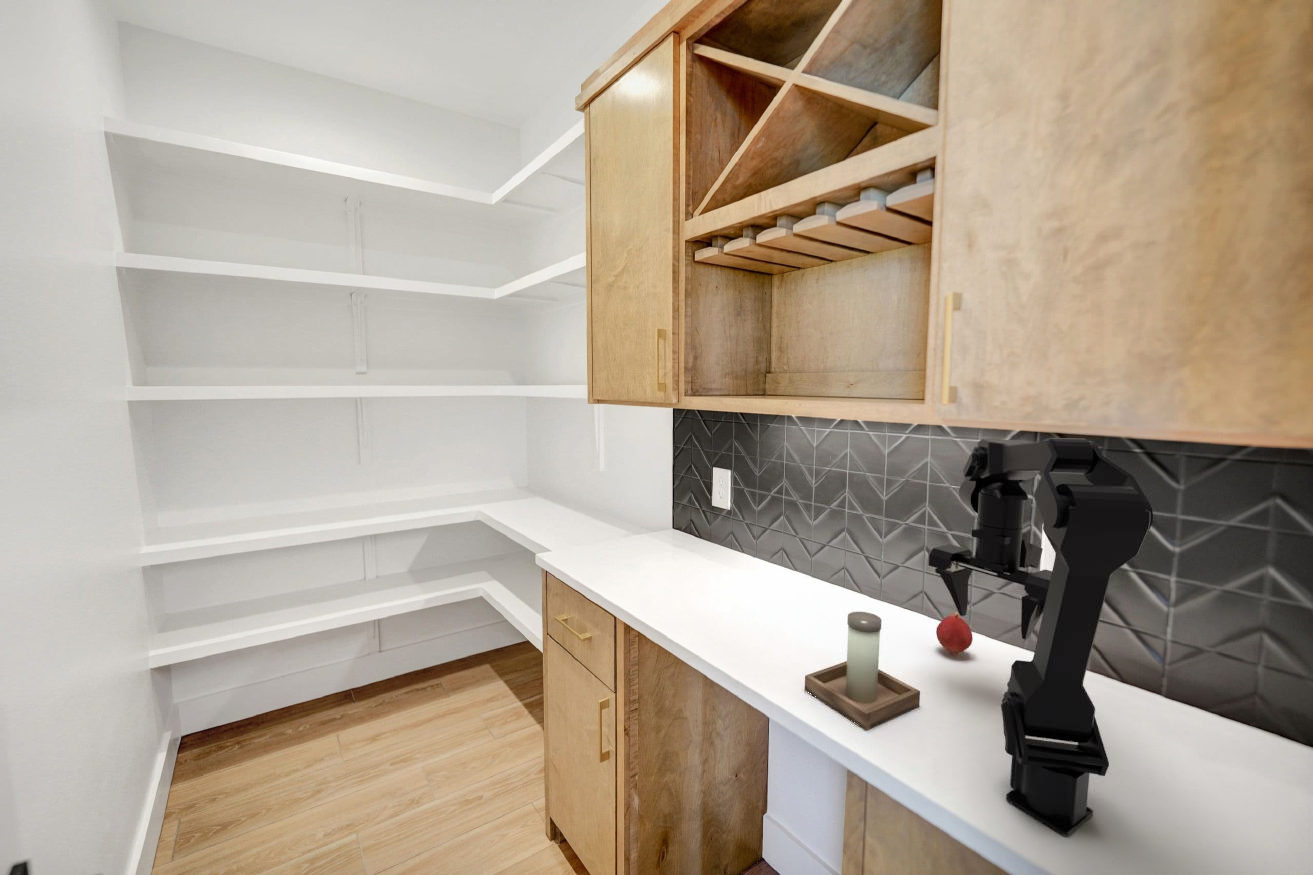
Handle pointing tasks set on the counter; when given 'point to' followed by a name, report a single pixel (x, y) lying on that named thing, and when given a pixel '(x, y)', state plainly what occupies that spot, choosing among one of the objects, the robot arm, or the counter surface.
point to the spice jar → (862, 656)
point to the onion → (954, 634)
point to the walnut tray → (887, 706)
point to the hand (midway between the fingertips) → (992, 626)
